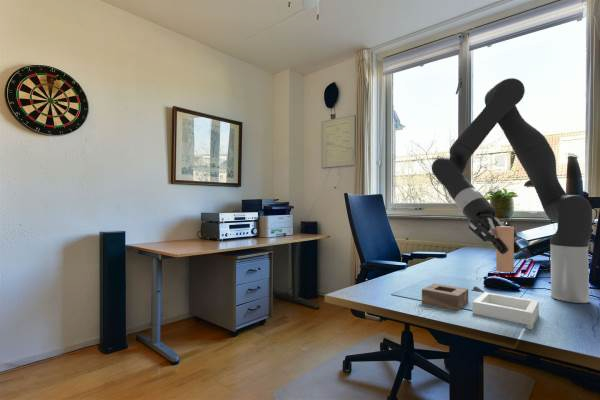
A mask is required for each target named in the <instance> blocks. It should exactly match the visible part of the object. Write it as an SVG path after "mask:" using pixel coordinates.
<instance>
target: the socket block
mask: <svg viewBox="0 0 600 400" xmlns="http://www.w3.org/2000/svg"><path fill="white" fill-rule="evenodd" d="M421 304H425V305H429V306H434V307H438V308H443V309H444V308H445V309H449V310H453V311H458V312H459V311H460V310H461V309H462V308H463V307H465V306H466V305H467V304H469V288H467V287H466V288H465V287H458V286H452V285H446V284H441V283H434V282H433V283H432V284H430V285H427V286H426V287H424V288H422V289H421Z"/></svg>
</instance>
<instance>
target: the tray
mask: <svg viewBox="0 0 600 400" xmlns="http://www.w3.org/2000/svg"><path fill="white" fill-rule="evenodd" d="M539 303H540V302H539V300H535V299H528V298H523V297H517V296H511V295H505V294H499V293H492V292H486V291H484V293H481V294H480V295H479V296H478V297H476V298H475V299H474V300H473V301H472V314H476V315H479V316H485V317H488V318H490V317H491V318H494V319H500V320H504V321H509V322H514V323H518V324H523V328H524V329H529V330H534V327H535V326H536V323H537V320H538V319H539V317H540V304H539Z"/></svg>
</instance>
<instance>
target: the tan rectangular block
mask: <svg viewBox="0 0 600 400" xmlns="http://www.w3.org/2000/svg"><path fill="white" fill-rule="evenodd" d="M514 230H515V227H514V226H513V227H510V226H496V233H497V235H498V237H499V238H500V239H501V240H502V241H503V243H504V244H505V245H506V246H507V247H508V251H507V252H506V253H505V254H501V253H500V252H499V251H498V250H497V249H496V250H495V251H496V253H495V254H496V255H495V256H496V257H495V259H496V262H495V263H496V265H495V266H496V269H495V270H496V271H497V272H500V273H501V272H502V273H514V272H515V253H514V240H515V238H514ZM499 238H498V239H499Z"/></svg>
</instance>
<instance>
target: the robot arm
mask: <svg viewBox="0 0 600 400" xmlns="http://www.w3.org/2000/svg"><path fill="white" fill-rule="evenodd" d="M525 90H526V88H525V86H524V83H523V82H522V81H521V80H519V79H518V78H515V77H514V78H513V77H510V78H505V79H503V80H501V81H499V82H497V83H496V84H495V85H494V86H493V87H491V88H490V89H489V90H488V91H487V92H486V94H485V96H484V104H485V106H484V108H483V109H482V110H481V112H480V113H479V114H478V115H477V116H476V117H475V118H474V119H473V120H472V121H471V122H470V123H469V125H467V127H466V128H465V129H464V130H463V131H462V133H460V134H459V136H458V137H457V139H455V141H454V143H453V144H452V145H451V146H450V148H449V157H445V156H444V157H443V156H442V157H438V158H436V159H435V160H434V161H433V162H432V164H431V172H432V174H433V176H434V177H435V178H436V179H437V181H438V182H439V183H440V184H441V185H442V186H444V188H445V190H446V191H447V193H448V194H449V196H450V197H451V199H452V200H453V201H454V203H455V204H456V205H457V208H458V209H459V210H460V212H461V213H462V215H464V217H465V218H466V220H468V222H469V223H470V225H468V228H469V230H470V231H472V233H474V234H475V236H477V237H478V238H479V239H481V241H483V242H484V243H487V242H489V243H490V244H491V245H493V246H494V247H495V248H496V249H497V250H498V251H499V252H500V253H501V254H505V253H506V252H507V251H508V247H507V246H506V245H505V244H504V243H503V241H502V240H501V239H500V238H499V237H498V235H497V233H496V226H510V227H514V226H513V225H512V223H511V221H510V220H508V219H507V220H506V221H502V220H501V219H500V218H498V217H497V216H496V209H495V207H494V206H493V205H492V204H491V203H490V202H489V201H488V200H487V198H486V197H485V196H484V195H483V194H482V192H480V191H479V190H478V189H477V188H476V187H475V186H474V185H473V184H472V182H470V181H469V180H468V179H467V178H466V177H465V176H464V175H463V173H464V171H465V168H466V167H467V164H468V162H469V160H470V158H471V157H472V156H473V155H474V153H475V152H476V151H477V149H478V148H479V147H480V146H481V144H482V143H483V142H484V140H485V139H486V137H488V135H489V134H490V133H491V131H492V130H493V129H494V128H495V126H496V125H497V124H498V126H499V127H500V129H501V131H502V132H503V135H504V136H505V137H506V139H507V141H508V143H509V144H510V146H511V148H512V150H513V152H514V154H515V156H516V158H517V159H518V162H519V163H520V164H521V166H522V168H523V170H524V172H525V174H526V175H527V177H528V179H529V181H530V182H531V185H533V187H534V189H535V191H536V195H537V196H538V199H539V201H540V203H541V206H542V209H543V212H544V214H545V215H546V217H547V218H548V219H549V220H551V221H552V222H555V223H557V230H556V232H554V234H551V235H550V239H549V241H550V243H549V245H550V247H549V249H550V250H549V251H550V297H551V298H553V299H556V300H559V301H563V302H568V303H573V304H574V303H576V304H587V303H589V302H590V285H589V284H590V281H589V280H590V278H589V277H590V276H589V274H590V273H589V271H590V270H589V267H590V266H589V241H590V239H591V237H592V231H593V207H592V205H591V203H590V201H589V200H588V199H587V198H586V197H584V196H582V195H578V194H572V195H571V194H567V193H566V192H565V190H564V189H563V186H562V185H561V183H560V181H559V178H558V175H557V159H556V155H555V152H554V150H553V148H552V146H551V145H550V143H549V141H548V140H547V138H546V136H545V135H544V134H543V133H541V132H540V131H539V130H538V129H537V128H535V127H534V126H532V125H531V124H530V123H528V122H527V121H526V120H525V119H524V118H523V116H522V115H521V113H520V111H519V109H518V107H517V106H516V105H517V104H519V103H520V102H521V101H522V100H523V98H524V96H525V93H526V92H525ZM517 236H518V234H517V232H516V230H515V229H514V254H519V252H520V251H522V247H521V246H520V245H519V244H518V242H517V241H516V240H515V237H517ZM498 238H499V239H498Z"/></svg>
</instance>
